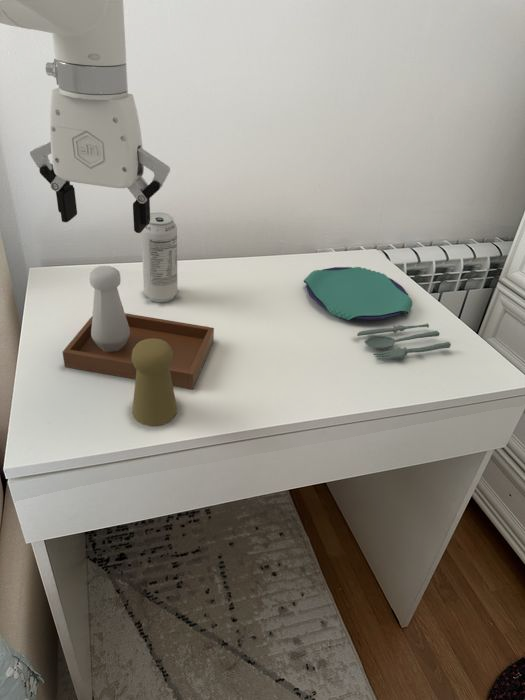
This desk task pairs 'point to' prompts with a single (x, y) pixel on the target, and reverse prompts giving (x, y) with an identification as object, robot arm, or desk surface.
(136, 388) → the pepper shaker
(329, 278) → the cutlery set
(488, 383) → the desk surface
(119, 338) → the salt shaker
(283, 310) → the desk surface
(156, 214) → the energy drink can
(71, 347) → the tray
